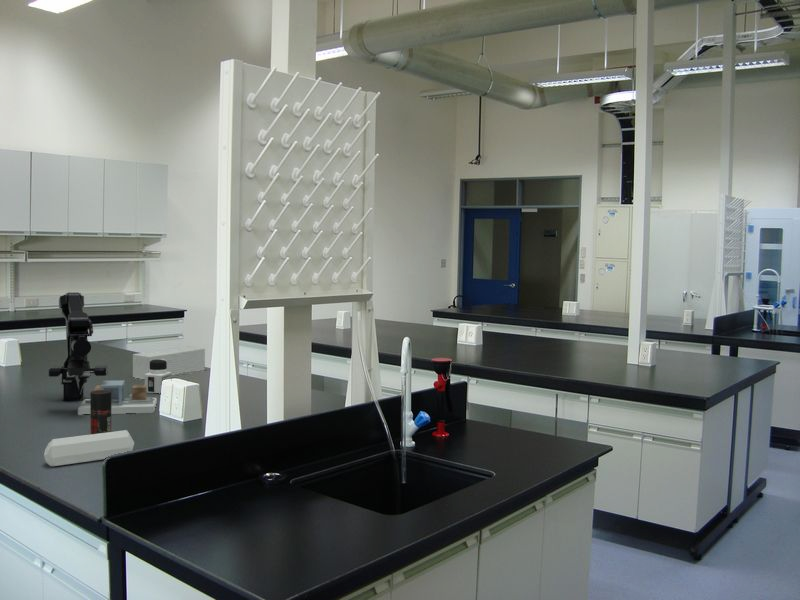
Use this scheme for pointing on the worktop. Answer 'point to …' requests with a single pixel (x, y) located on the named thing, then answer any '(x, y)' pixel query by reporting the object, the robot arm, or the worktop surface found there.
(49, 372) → the robot arm
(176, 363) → the long grey rectangular block
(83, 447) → the crystal
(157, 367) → the container
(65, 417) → the worktop surface
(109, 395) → the deodorant
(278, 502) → the worktop surface
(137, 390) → the block
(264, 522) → the worktop surface
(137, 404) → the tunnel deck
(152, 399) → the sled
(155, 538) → the worktop surface
